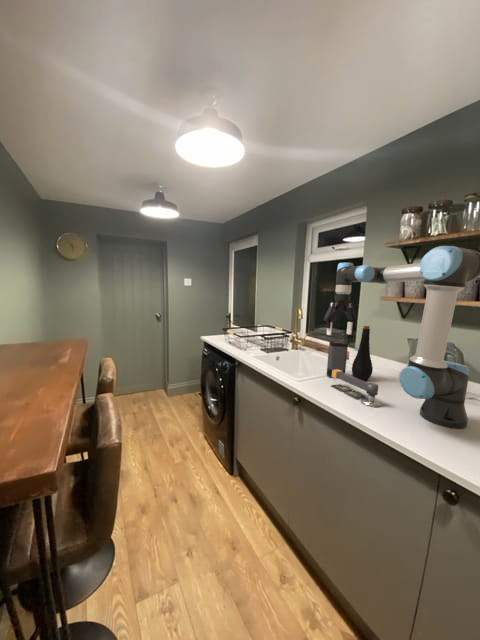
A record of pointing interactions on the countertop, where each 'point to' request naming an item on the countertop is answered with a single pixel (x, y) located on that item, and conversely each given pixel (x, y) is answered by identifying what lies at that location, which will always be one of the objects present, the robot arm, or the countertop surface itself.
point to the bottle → (363, 358)
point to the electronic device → (336, 357)
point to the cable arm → (356, 382)
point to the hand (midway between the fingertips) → (339, 334)
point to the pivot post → (370, 401)
